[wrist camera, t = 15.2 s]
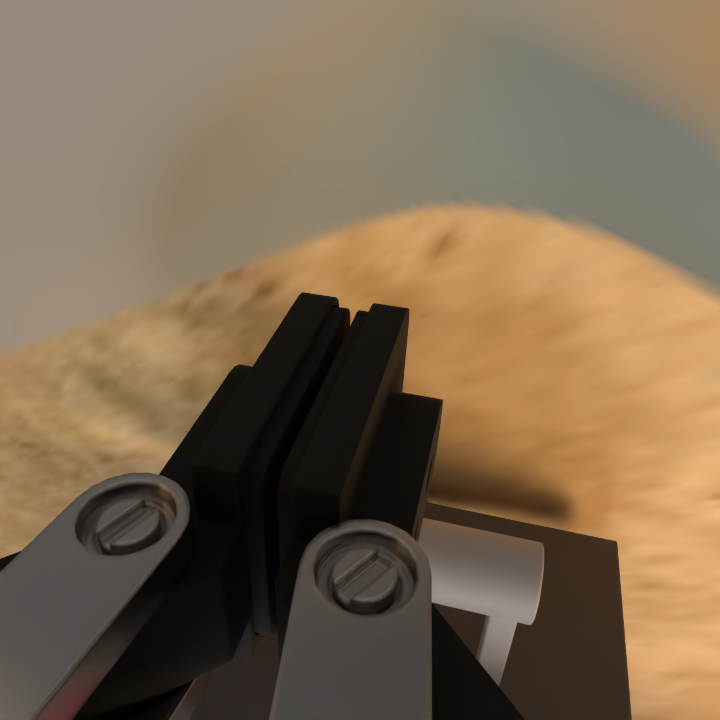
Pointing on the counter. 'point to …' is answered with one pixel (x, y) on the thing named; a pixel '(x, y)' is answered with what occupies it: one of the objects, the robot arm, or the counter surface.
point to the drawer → (497, 620)
